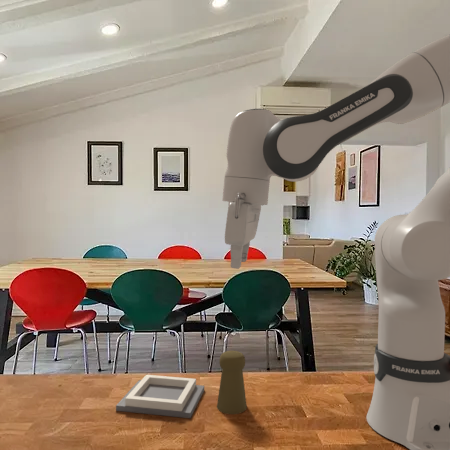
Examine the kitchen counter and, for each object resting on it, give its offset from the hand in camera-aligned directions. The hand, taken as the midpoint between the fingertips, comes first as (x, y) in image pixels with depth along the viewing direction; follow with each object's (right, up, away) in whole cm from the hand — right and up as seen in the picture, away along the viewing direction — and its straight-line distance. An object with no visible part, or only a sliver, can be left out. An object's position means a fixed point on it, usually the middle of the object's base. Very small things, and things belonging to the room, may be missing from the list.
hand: (239, 264), depth 79 cm
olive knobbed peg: (-1, -29, +2) cm, 29 cm away
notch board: (-16, -28, +4) cm, 33 cm away
